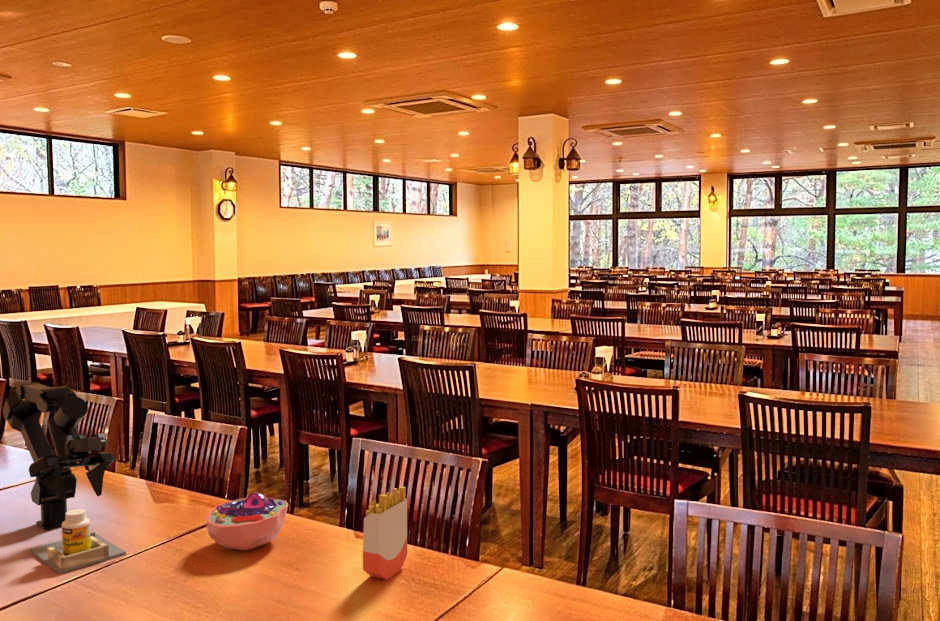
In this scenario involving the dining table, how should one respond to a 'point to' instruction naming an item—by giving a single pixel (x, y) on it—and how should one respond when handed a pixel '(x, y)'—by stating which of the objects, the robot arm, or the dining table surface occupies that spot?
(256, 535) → the cell model
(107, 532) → the dining table surface
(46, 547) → the board
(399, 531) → the french fries container
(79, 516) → the supplement bottle
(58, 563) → the end holder
